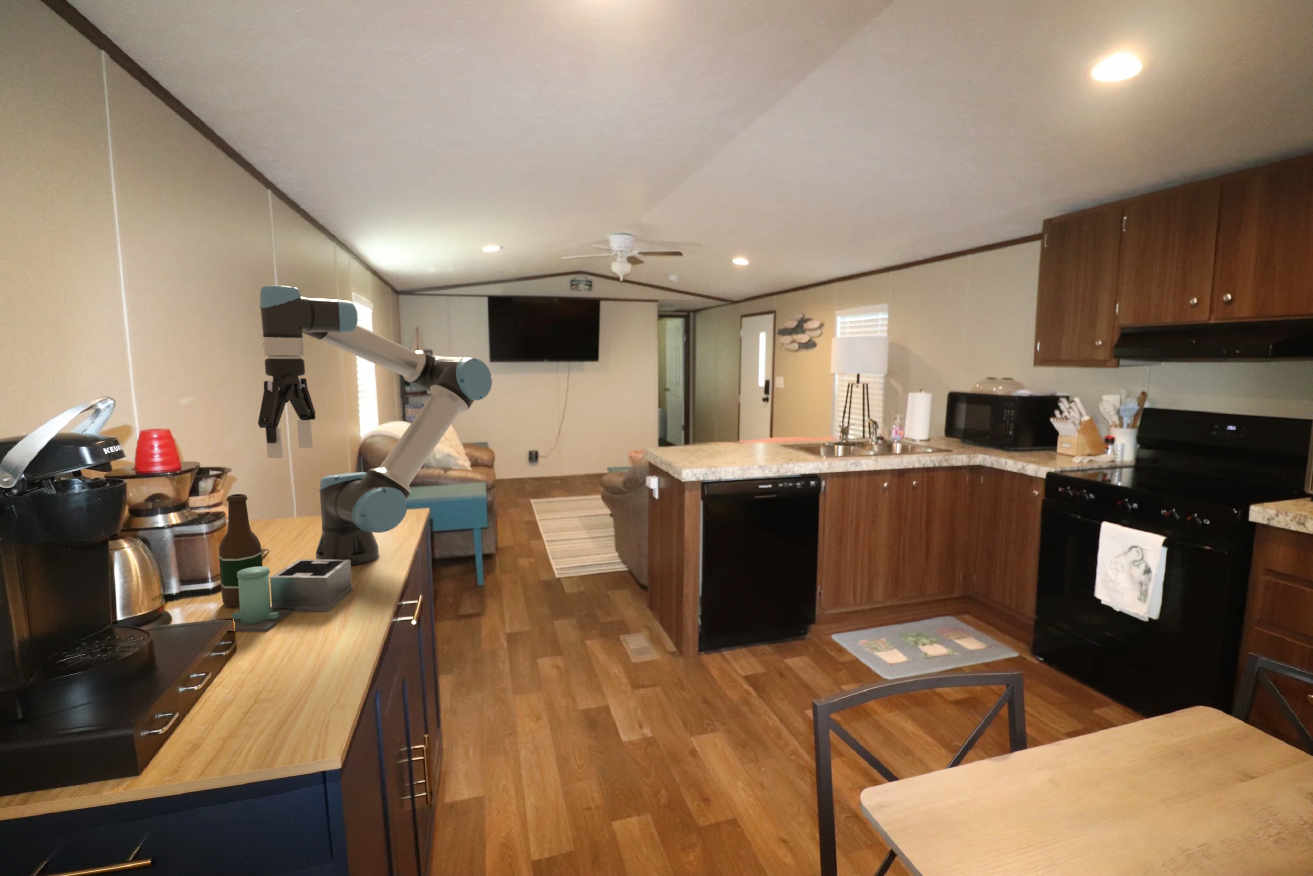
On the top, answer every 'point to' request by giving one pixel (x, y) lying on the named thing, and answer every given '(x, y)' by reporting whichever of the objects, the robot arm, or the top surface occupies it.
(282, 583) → the grey storage bin
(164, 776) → the top surface
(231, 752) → the top surface
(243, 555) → the beer bottle
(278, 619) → the pad
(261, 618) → the green upright cylinder
